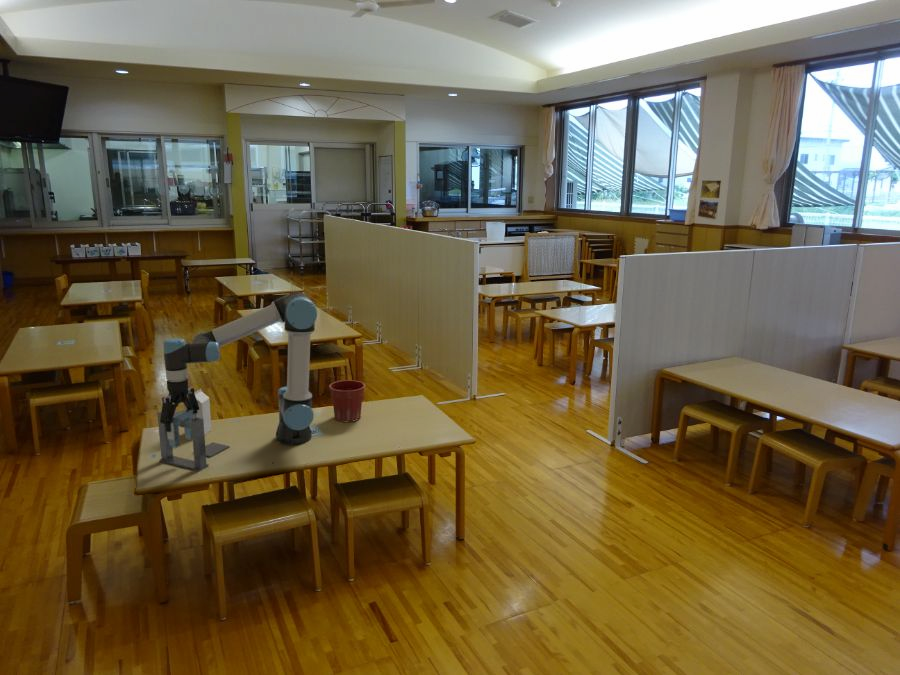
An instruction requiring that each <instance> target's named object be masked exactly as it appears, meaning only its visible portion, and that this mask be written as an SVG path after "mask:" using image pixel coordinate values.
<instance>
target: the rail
mask: <svg viewBox="0 0 900 675" xmlns="http://www.w3.org/2000/svg"><path fill="white" fill-rule="evenodd" d="M161 412H162V410H161V411H159V412H157V423H158V435H159V445H160V459H159V462H160V463H163V464H168V465H172V466H176V467H179V468H184V469H188V470H192V471H197V472H201V471H203V470H204V469H207V468H208V467H209V465H210V464H208V463H207V457H206V449H205V446H206V440H205V439H206V437H205V435H206V434H205V435H204V421H203V419H202V418H195V419H193V420H191V422H190V421H186V420H182V421H179V422H178V426H179V427H180V428H183V429H184V428H188V429H192V436H193V439H192V448H193V452H194V453H193V460H192V459H188V458H183V457H179V456H175V455H174V451H173V447H172V446H170V443H169V439H168V436H167V432H166V427H165V424H162V423H160V419H161Z"/></svg>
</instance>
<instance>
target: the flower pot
mask: <svg viewBox="0 0 900 675" xmlns="http://www.w3.org/2000/svg"><path fill="white" fill-rule="evenodd" d="M365 387H366V384H365V383H364V382H363V381H360V380H351V379H350V380H349V379H348V380H347V379H346V380H345V379H343V380H337V381H334V382H332V383H330V384H329V389H330V393H331V398H332V405H333V414H334V416H333V417H334V420H336V421H338V420H339V421H338V422H344V421H352V422H354V421H353V420H356V419H358V418H359V419H361V416H362V415H361V414H362V406H363V405H362V404H363V395H364V390H365ZM359 419H358V420H359ZM356 421H357V420H356Z"/></svg>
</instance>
